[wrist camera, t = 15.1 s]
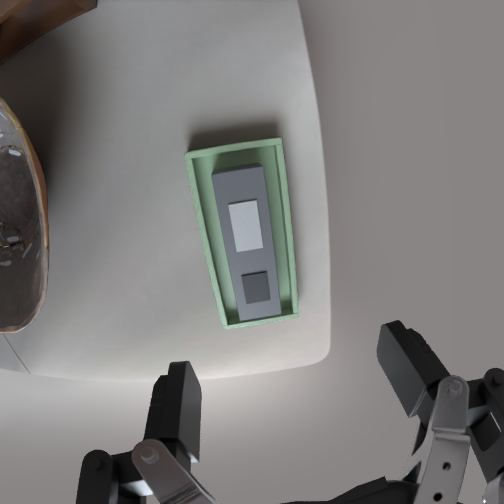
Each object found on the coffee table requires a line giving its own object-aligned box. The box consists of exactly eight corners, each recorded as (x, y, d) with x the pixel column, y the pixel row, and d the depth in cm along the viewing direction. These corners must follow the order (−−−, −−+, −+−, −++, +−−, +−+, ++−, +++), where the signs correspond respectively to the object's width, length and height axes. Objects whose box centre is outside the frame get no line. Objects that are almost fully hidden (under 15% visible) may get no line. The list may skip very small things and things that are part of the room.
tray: (186, 151, 24) (183, 153, 23) (277, 137, 25) (281, 137, 23) (223, 319, 32) (223, 329, 31) (295, 307, 33) (299, 316, 31)
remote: (212, 170, 25) (210, 174, 22) (259, 162, 25) (263, 166, 22) (238, 305, 31) (240, 322, 28) (277, 298, 31) (282, 314, 28)
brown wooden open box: (99, -41, 13) (71, -74, 4) (96, 7, 16) (58, -24, 8) (1, 18, 12) (-38, 7, 4) (-4, 68, 16) (-50, 64, 8)
